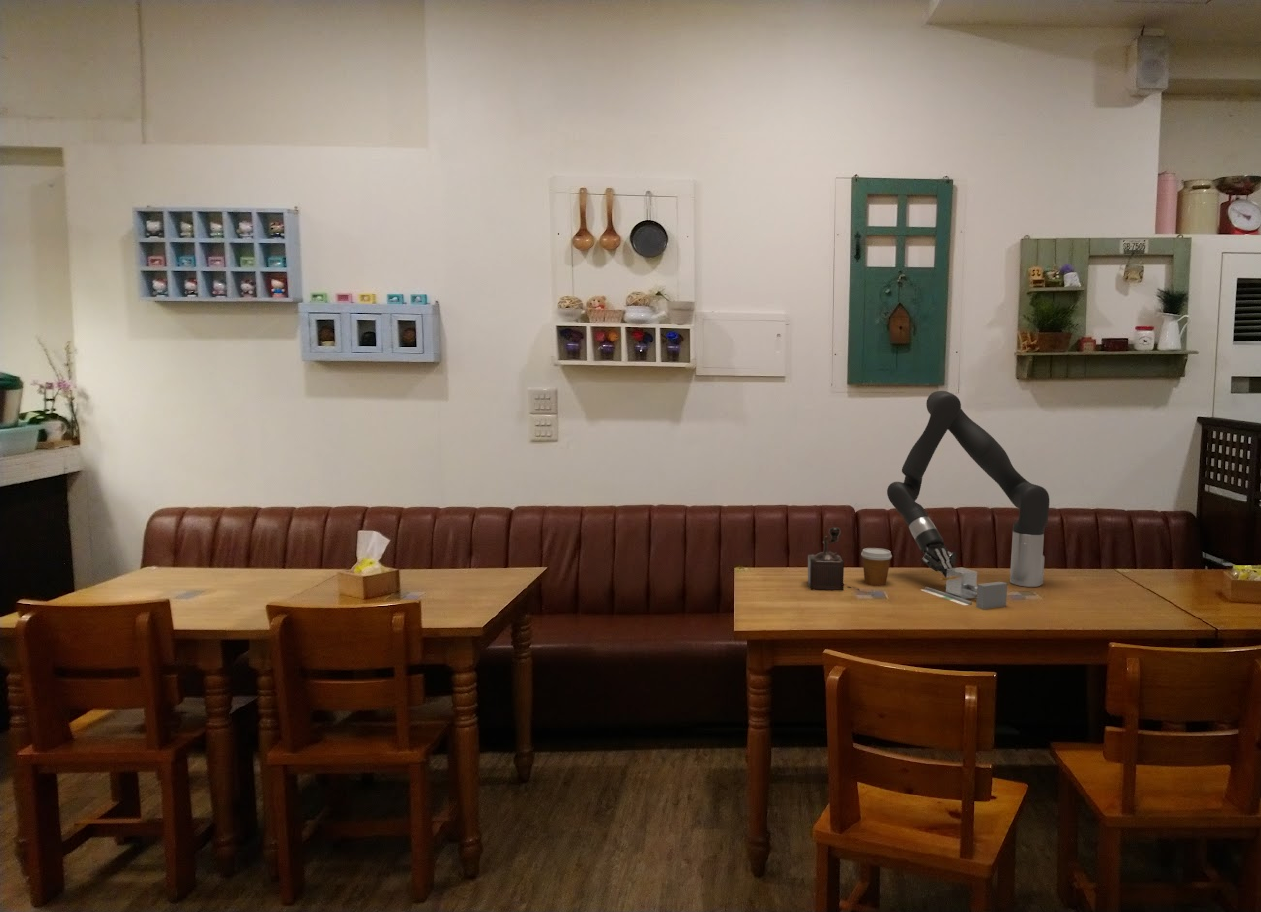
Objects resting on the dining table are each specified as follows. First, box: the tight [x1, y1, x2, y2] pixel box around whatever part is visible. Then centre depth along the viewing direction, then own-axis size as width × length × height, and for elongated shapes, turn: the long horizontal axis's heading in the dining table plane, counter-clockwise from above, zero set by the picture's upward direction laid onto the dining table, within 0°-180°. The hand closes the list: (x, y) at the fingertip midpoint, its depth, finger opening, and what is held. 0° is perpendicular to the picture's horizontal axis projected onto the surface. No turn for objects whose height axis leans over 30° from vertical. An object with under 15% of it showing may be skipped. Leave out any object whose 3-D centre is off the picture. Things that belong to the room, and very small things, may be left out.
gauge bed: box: [921, 581, 1008, 610], centre depth 242 cm, size 14×24×8 cm, turn 23°
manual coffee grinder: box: [807, 526, 845, 591], centre depth 261 cm, size 16×11×18 cm
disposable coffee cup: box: [860, 547, 893, 586], centre depth 258 cm, size 10×10×12 cm
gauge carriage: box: [939, 566, 978, 600], centre depth 240 cm, size 11×11×8 cm
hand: (952, 581), depth 246 cm, fingers closed
